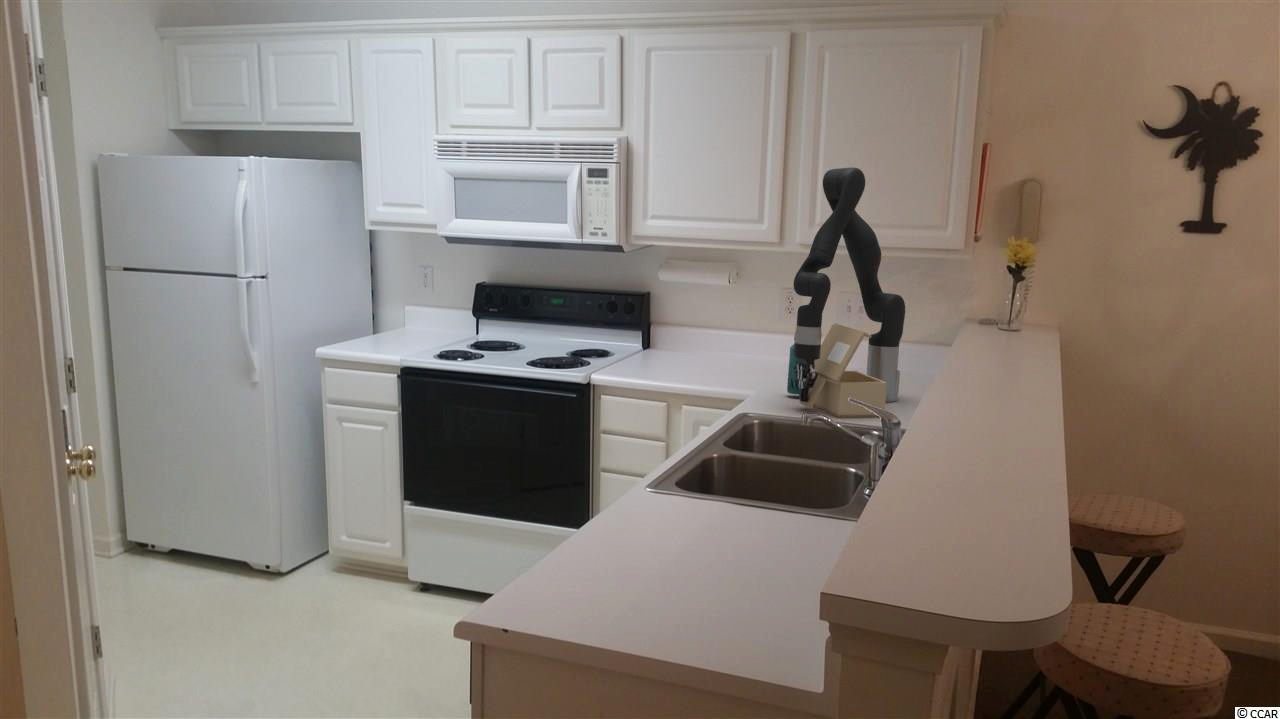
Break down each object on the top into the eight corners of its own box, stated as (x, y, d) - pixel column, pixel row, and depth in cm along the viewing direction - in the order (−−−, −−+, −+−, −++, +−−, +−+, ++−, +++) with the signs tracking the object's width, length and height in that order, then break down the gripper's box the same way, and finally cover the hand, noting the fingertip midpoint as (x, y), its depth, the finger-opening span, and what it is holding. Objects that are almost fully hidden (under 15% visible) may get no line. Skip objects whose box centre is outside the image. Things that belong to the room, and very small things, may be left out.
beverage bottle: (782, 395, 296) (785, 332, 293) (800, 394, 298) (804, 332, 295) (793, 399, 290) (797, 335, 287) (812, 398, 292) (815, 334, 289)
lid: (841, 327, 283) (833, 322, 282) (871, 336, 263) (863, 331, 262) (798, 402, 284) (790, 397, 283) (825, 416, 264) (817, 412, 263)
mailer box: (854, 403, 287) (856, 370, 286) (884, 417, 268) (886, 382, 267) (811, 403, 284) (812, 370, 283) (838, 417, 265) (840, 382, 264)
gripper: (829, 345, 265) (824, 405, 267) (811, 339, 277) (806, 397, 280) (804, 344, 263) (799, 405, 265) (787, 338, 276) (783, 397, 278)
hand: (803, 401), depth 273 cm, fingers closed
